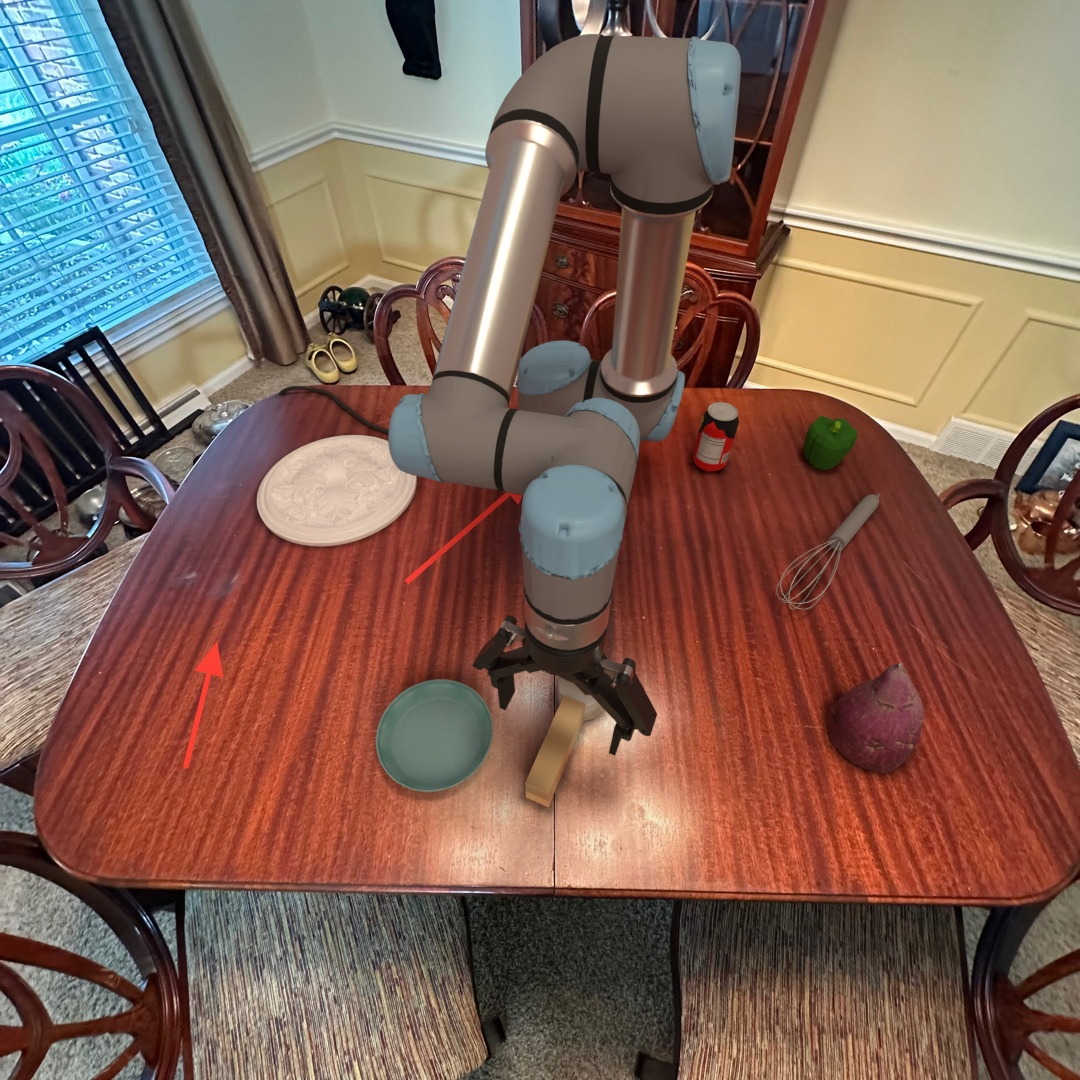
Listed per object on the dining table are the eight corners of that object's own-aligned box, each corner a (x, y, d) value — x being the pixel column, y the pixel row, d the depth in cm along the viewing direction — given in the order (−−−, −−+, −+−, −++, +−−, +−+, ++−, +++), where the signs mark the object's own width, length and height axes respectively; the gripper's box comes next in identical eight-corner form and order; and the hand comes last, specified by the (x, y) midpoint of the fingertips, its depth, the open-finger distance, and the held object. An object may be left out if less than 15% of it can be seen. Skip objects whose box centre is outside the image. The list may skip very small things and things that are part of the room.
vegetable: (810, 714, 83) (823, 637, 75) (886, 704, 83) (907, 625, 74) (845, 782, 75) (864, 703, 66) (930, 771, 74) (960, 690, 66)
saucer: (434, 825, 71) (431, 818, 69) (356, 746, 77) (351, 737, 75) (517, 734, 78) (516, 725, 76) (440, 668, 85) (437, 658, 83)
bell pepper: (809, 440, 117) (828, 397, 110) (850, 459, 113) (871, 417, 106) (788, 461, 113) (805, 418, 106) (829, 482, 110) (850, 439, 102)
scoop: (561, 813, 72) (562, 799, 68) (513, 791, 74) (511, 777, 70) (610, 687, 83) (614, 669, 79) (567, 670, 84) (568, 652, 81)
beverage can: (732, 464, 113) (749, 412, 104) (710, 479, 110) (726, 427, 101) (706, 447, 116) (720, 395, 107) (684, 461, 113) (696, 409, 104)
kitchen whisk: (891, 507, 105) (907, 480, 101) (799, 627, 89) (813, 603, 84) (857, 490, 108) (871, 464, 103) (762, 604, 92) (774, 579, 87)
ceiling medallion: (425, 528, 102) (422, 516, 100) (253, 560, 98) (246, 547, 95) (408, 428, 120) (405, 415, 118) (262, 451, 116) (256, 438, 113)
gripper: (424, 603, 55) (450, 709, 71) (692, 704, 48) (654, 795, 64) (463, 547, 60) (479, 657, 75) (713, 632, 53) (673, 733, 69)
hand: (560, 721), depth 70 cm, fingers open, 13 cm apart
